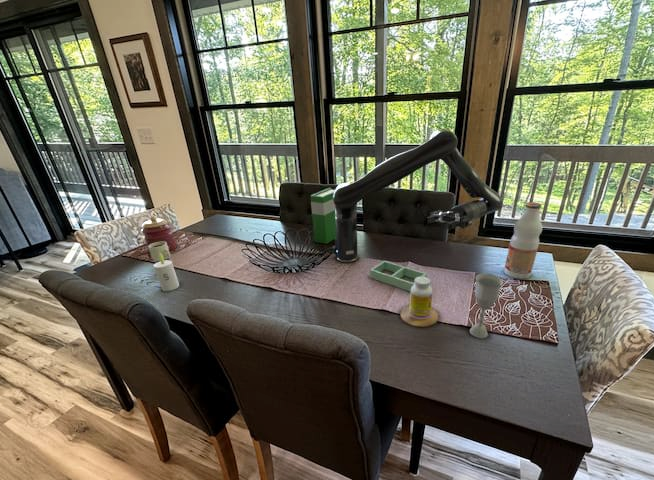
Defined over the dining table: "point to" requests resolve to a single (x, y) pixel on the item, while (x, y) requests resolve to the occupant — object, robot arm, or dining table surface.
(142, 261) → the dining table surface
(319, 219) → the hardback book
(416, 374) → the dining table surface
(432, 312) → the coaster
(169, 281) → the candle
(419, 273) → the holder
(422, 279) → the supplement bottle
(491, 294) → the chalice
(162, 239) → the kitchen canister
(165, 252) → the character mug
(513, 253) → the fruit juice
